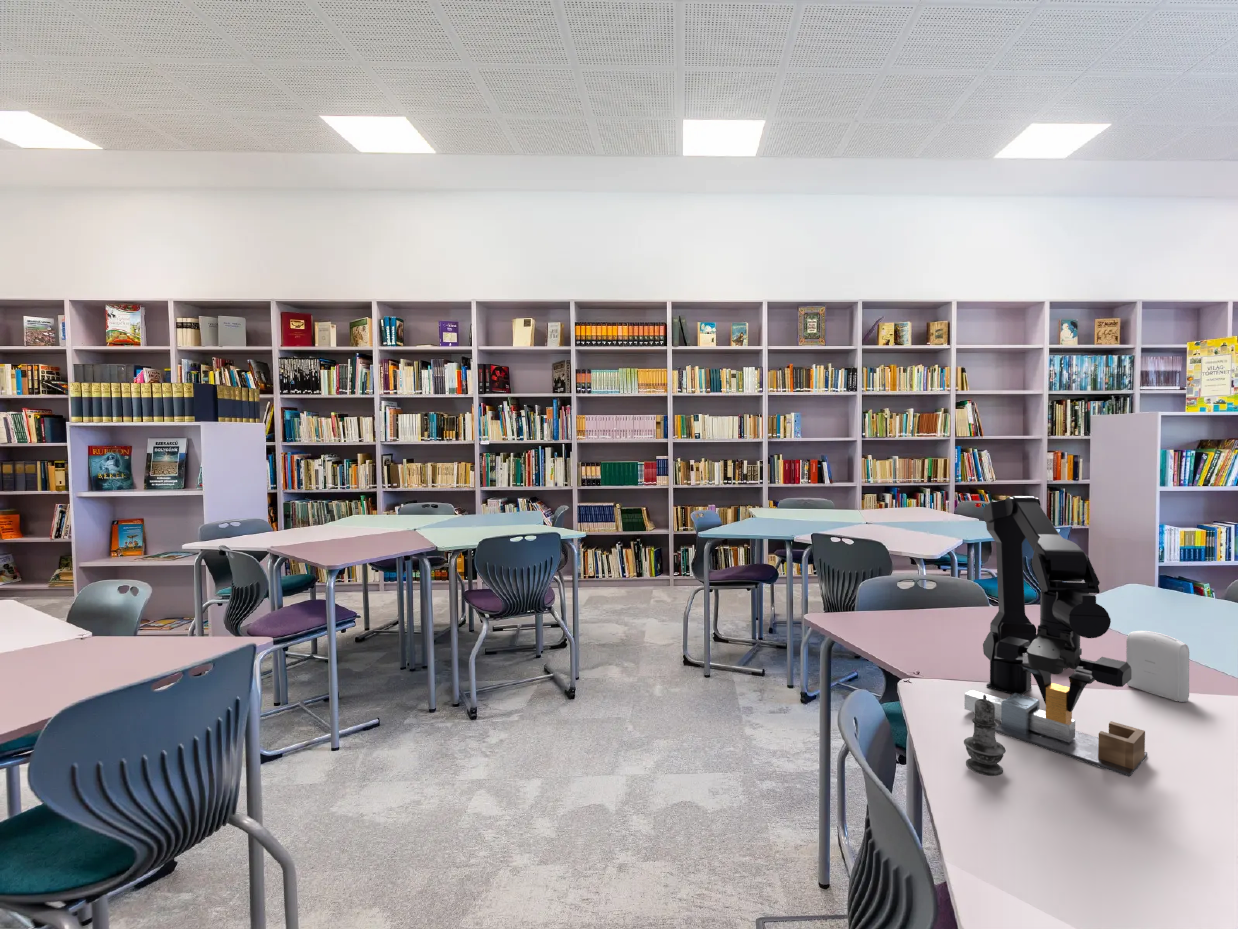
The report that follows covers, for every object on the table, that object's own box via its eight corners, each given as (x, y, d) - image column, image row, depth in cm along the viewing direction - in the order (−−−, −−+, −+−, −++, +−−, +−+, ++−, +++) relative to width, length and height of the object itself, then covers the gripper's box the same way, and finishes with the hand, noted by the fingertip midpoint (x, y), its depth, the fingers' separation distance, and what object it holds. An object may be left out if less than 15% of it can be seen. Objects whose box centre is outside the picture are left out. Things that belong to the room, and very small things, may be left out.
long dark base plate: (993, 731, 112) (994, 704, 112) (1015, 715, 118) (1016, 689, 118) (1129, 777, 97) (1130, 745, 96) (1147, 756, 103) (1147, 726, 102)
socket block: (1098, 758, 101) (1098, 733, 101) (1110, 745, 105) (1111, 721, 105) (1133, 769, 98) (1133, 743, 97) (1144, 756, 102) (1145, 730, 101)
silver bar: (964, 709, 119) (964, 665, 119) (971, 704, 121) (971, 662, 121) (1069, 742, 106) (1069, 693, 105) (1075, 737, 108) (1075, 689, 107)
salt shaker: (1000, 760, 102) (1001, 689, 102) (1010, 779, 97) (1010, 704, 96) (960, 755, 104) (960, 685, 103) (967, 773, 98) (967, 699, 98)
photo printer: (1121, 685, 131) (1122, 627, 131) (1135, 682, 133) (1136, 625, 132) (1179, 704, 121) (1181, 642, 121) (1193, 701, 123) (1194, 639, 122)
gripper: (982, 616, 110) (981, 703, 111) (1112, 643, 95) (1110, 742, 96) (1007, 605, 117) (1007, 686, 117) (1133, 628, 102) (1131, 721, 103)
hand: (1058, 707), depth 108 cm, fingers closed on silver bar, 3 cm apart
